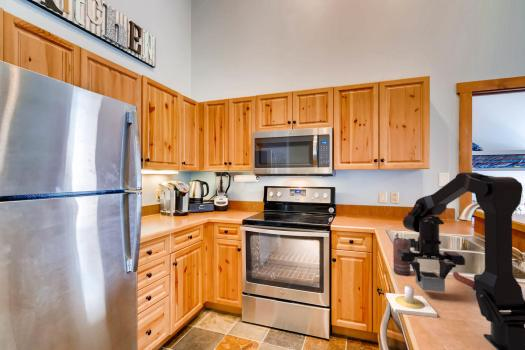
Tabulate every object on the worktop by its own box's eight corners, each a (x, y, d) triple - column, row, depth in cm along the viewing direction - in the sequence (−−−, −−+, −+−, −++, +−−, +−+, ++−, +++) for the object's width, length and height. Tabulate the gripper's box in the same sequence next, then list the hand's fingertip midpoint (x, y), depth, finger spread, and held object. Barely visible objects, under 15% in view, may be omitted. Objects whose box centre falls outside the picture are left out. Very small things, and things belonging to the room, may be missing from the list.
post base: (437, 317, 72) (437, 297, 72) (394, 312, 75) (394, 293, 75) (422, 299, 83) (422, 282, 83) (385, 295, 86) (385, 279, 86)
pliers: (470, 298, 85) (470, 290, 85) (451, 276, 103) (451, 270, 103) (515, 304, 80) (515, 296, 80) (487, 280, 99) (487, 274, 99)
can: (410, 272, 107) (410, 238, 107) (409, 277, 102) (409, 241, 102) (394, 269, 110) (394, 236, 110) (392, 274, 105) (392, 239, 105)
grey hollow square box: (444, 291, 82) (444, 279, 82) (422, 290, 83) (422, 277, 84) (436, 283, 88) (436, 272, 88) (415, 282, 90) (415, 270, 90)
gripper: (448, 232, 92) (449, 275, 92) (392, 229, 96) (392, 271, 96) (466, 239, 81) (466, 288, 81) (401, 236, 85) (402, 283, 85)
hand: (429, 282), depth 86 cm, fingers closed on grey hollow square box, 6 cm apart
